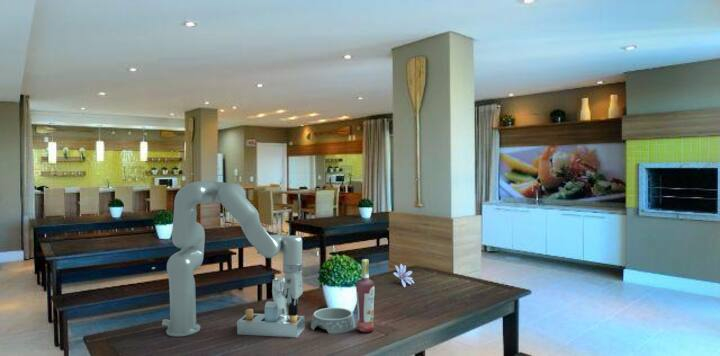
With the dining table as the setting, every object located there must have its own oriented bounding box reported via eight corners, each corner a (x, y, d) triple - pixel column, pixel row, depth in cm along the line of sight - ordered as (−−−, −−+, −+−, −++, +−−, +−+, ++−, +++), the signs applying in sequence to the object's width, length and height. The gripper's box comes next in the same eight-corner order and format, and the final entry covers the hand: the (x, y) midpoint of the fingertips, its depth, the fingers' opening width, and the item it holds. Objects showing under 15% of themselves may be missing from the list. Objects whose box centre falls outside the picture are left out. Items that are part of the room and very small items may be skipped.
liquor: (368, 335, 181) (368, 262, 180) (352, 331, 185) (352, 260, 184) (378, 329, 187) (377, 259, 186) (362, 326, 191) (362, 257, 190)
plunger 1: (244, 323, 186) (244, 311, 186) (247, 321, 189) (247, 308, 189) (251, 324, 186) (251, 311, 185) (254, 321, 189) (254, 309, 188)
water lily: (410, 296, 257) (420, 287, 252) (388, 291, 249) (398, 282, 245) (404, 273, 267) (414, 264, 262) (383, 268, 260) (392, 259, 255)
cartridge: (263, 333, 184) (262, 303, 183) (267, 328, 189) (267, 299, 188) (275, 333, 183) (275, 304, 183) (279, 329, 188) (279, 300, 188)
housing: (237, 334, 183) (237, 321, 183) (247, 325, 193) (247, 313, 193) (297, 337, 179) (297, 324, 179) (304, 328, 189) (304, 315, 189)
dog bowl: (326, 316, 204) (326, 304, 204) (363, 323, 195) (363, 310, 194) (302, 328, 189) (302, 315, 189) (340, 337, 180) (340, 323, 180)
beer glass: (285, 316, 203) (284, 282, 203) (270, 315, 204) (269, 281, 204) (290, 311, 210) (290, 278, 209) (276, 310, 211) (275, 277, 211)
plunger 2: (288, 328, 183) (288, 315, 183) (290, 326, 186) (290, 313, 186) (296, 329, 183) (295, 316, 182) (298, 326, 186) (298, 313, 185)
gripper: (296, 272, 176) (296, 321, 176) (307, 264, 190) (307, 309, 191) (276, 272, 177) (277, 320, 177) (289, 263, 191) (289, 308, 192)
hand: (293, 314), depth 184 cm, fingers closed
